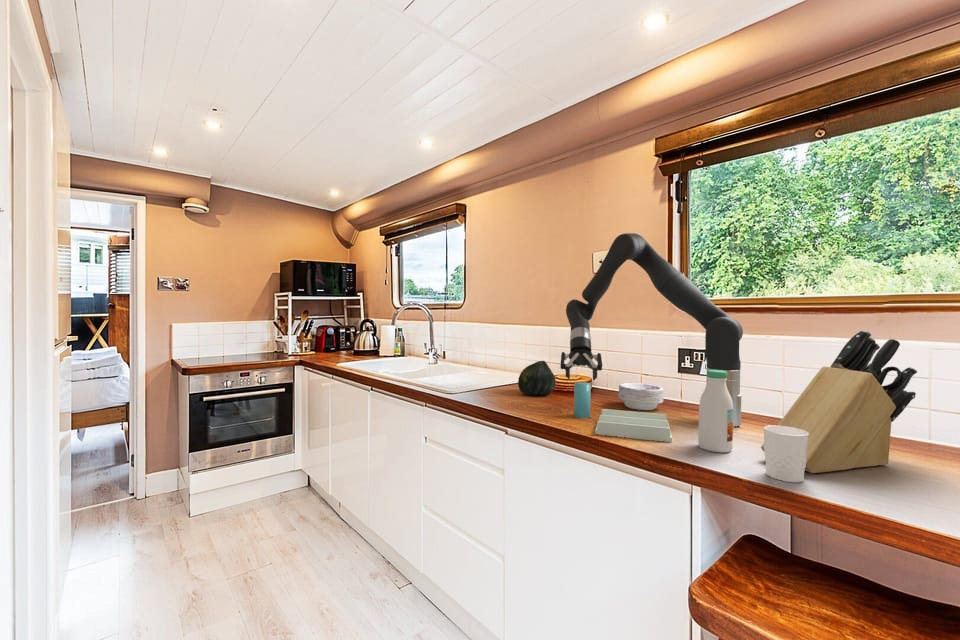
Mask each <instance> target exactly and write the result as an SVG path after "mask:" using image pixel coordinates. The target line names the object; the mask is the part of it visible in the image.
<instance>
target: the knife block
mask: <svg viewBox="0 0 960 640" xmlns="http://www.w3.org/2000/svg"><path fill="white" fill-rule="evenodd" d="M871 336H872V333H871V332H869V331H868V330H865V329H862V330H860V331H859V332H857V333H856V334H855V335H853V336H852V337H851V338H850V339H849V340H848V341H847V342H846V343H845V344H844V346H843V347H842V349H841V350H840V352H839V353H838V355H837V356H836V358H835V359H834V361H833V362H832V363H831V365H830V366H822V367H821V368H820V369H819V371H818V372H817V373H816V374H815V376H814V377H813V378H812V380H811V381H810V382H809V383H808V384H807V386H805V388H804V389H803V391H802V392H801V394H800V395H799V396H798V398H797V399H796V400H795V402H794V403H793V404H792V406H791V407H790V409H789V410H788V411H786V414H785V415H784V416H783V417H782V419H781V420H780V421H779V423H778V424H777V425H776V426H786V427H793V428H797V429H801V430H804V431H806V432H808V433H809V438H808V449H807V461H806V468H805V471H806V472H807V473H810V474H816V473H817V474H819V473H826V472H827V473H828V472H836V471H845V470H850V469H855V468H864V467H865V468H866V467H874V466H878V465H881V466H884V465H889V462H890V461H889V460H890V459H889V457H890V445H891V434H892V433H891V431H892V422H894V421H895V420H896V419H897V418H898V417H899V416H900V415H901V414H902V413H903V411H904V410H905V409H906V408H907V406H908V405H909V404H910V403H911V401H913V400H914V399H916V392H914V391H907V390H905V389H906V387H907V386H908V385H909V383H910V380H912V378H913V376H915V374H917V373H918V370H917V369H915V368H913V367H911V366H909V367H907V368H905V369H903V370H902V371H901V369H899V368H898V367H896V366H887V364H888V363H889V361H891V359H892V358H893V357H894V356H895V354H896V353H897V351H898V349H899V347H900V345H901V343H900V341H898V340H896V339H893V338H890V339H888V340H887V341H885V343H884V344H883V345H882V346H880V345H879V344H878V343H877V342H876V340H875V339H873V338H872V337H871ZM880 347H881V348H880ZM876 351H877V353H876ZM874 354H875V355H874ZM872 358H873V359H872ZM871 360H872V361H871ZM870 362H871V363H870ZM885 366H887V367H885ZM884 367H885V368H884ZM883 368H884V369H883ZM892 371H894V372H896V374H897V376H895V378H894V379H893V380H892V382H891V383H888V384H886V385H883V383H884V381H885V379H886V378H887V375H888V374H889V373H890V372H892ZM760 448H761V450H762V451H763V453H764V454H765V450H764V443H763V444H762V445H761V447H760ZM805 471H804V472H805Z"/></svg>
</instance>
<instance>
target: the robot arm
mask: <svg viewBox="0 0 960 640" xmlns="http://www.w3.org/2000/svg"><path fill="white" fill-rule="evenodd" d="M628 260H629V261H632V262H634V263H636V264H637V265H638V266H639V267H640V268H641V269H642V270H644V271H645V272H646V274H647V276H648V277H649V279H650V281H651V283H652V284H653V286H654V288H655V289H656V290H657V292H658V293H660V295H662V296H663V298H664V299H666V300H667V301H668V302H669V303H671V304H672V305H673V306H675V307H676V308H678V309H679V310H681V311H682V312H684V313H686V314H687V315H689V316H690V317H692V318H693V319H695V320H696V321H697V322H698V323H699V324H700V325H701V326H702V327H703V328H704V329H705V337H704V339H705V340H704V341H705V349H704V350H705V361H706V371H707V370H722V371H726V372H727V380H726V386H727V389H728V392H729V394H730V396H731V399H732V402H733V428H734V427H735V426H736V427H737V426H739V427H740V426H742V425H741V424H742V423H741V422H742V395H741V360H740V359H741V358H740V341H741V340H742V338H743V334H744V332H743V331H744V330H743V327H742V325H741V322H739V321H738V320H737V319H735V318H734V317H733V316H731V315H729V314H728V313H727V312H725V311H724V310H723V309H721V308H720V307H718V306H717V305H715V303H713V302H712V301H711V300H710V299H709V298H708V297H707V296H706V295H705V293H703V292H702V291H701V290H700V289H699V287H697V286H696V285H695V284H694V283H693V282H692V281H691V280H690V279H689V278H688V277H687V276H685V275H684V274H683V273H682V272H681V271H679V270H678V269H677V268H676V267H675V266H673V265H672V264H671V263H670V262H668V261H667V260H666V259H665V258H663V256H661V255H660V254H659V253H658V252H657V251H656V250H655V249H654V248H653V247H652V246H651V245H650V244H649V242H648V241H647V240H646V239H645V238H644V237H643V235H640V234H638V233H634V232H633V233H631V232H630V233H628V232H626V233H622V234H619V235H617V236H616V237H615V239H613V242H612V243H611V246H610V247H609V250H608V252H607V254H606V255H605V257H604V259H603V261H602V263H601V264H600V266H599V268H598V269H597V271H596V272H595V274H594V275H593V277H592V278H591V279H590V281H589V282H588V284H587V285H586V286H585V288H584V289H583V291H582V293H581V296H582V299H583V300H584V301H586V303H585V302H583V301H581V300H579V299H575V298H574V299H571V300H569V301H568V302H567V305H566V308H565V315H566V317H567V320H568V323H569V326H570V337H569V353H566V352H564V351H561V355H560V356H561V357H560V369H561V370H565V377H566V378H567V379H568V380H571V378H570V377H571V369H572V368H574V367H575V366H577V367H580V366H581V367H586V366H587V367H588V368H589V369H591V370H592V381H595V380H597V378H598V371H599V372H600V371H602V370H603V362H602V361H603V360H602V354H601V353H600V352H598V353H597V354H593V352H592V337H591V330H590V322H589V321H590V320H591V319H592V318H593V316H594V313H595V311H596V307H597V306H598V303H599V301H600V300H601V299H602V297H603V296H604V295H605V293H607V291H608V289H609V287H610V286H611V283H612V281H613V278H614V276H615V274H616V272H617V271H618V270H619V269H620V267H621V266H622V265H623V264H624V263H625V262H627V261H628ZM567 359H569V361H568V362H567V363H565V361H567ZM593 359H594V360H595V362H596V363H597V364H596V363H595V362H594V360H593ZM707 381H708V379H707V376H706V384H705V385H707ZM740 428H741V427H740Z"/></svg>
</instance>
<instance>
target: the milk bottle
mask: <svg viewBox="0 0 960 640" xmlns="http://www.w3.org/2000/svg"><path fill="white" fill-rule="evenodd" d="M706 377H707V379H708V381H707V385H706V384H705V385H706V386H705V388H704V390H703V392H702V394H701V396H700V399H699V407H698V408H699V409H698V441H697V442H698V446H699V448H701V449H702V450H704V451H708V452H713V453H723V454H724V453H730V452H732V450H733V442H734V441H733V438H734V437H733V436H734V435H733V434H734V427H733V402H732V399H731V396H730V394H729V392H728V389H727V386H726V380H727V372H726V371H722V370H707V369H706Z"/></svg>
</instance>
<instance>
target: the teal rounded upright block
mask: <svg viewBox="0 0 960 640" xmlns="http://www.w3.org/2000/svg"><path fill="white" fill-rule="evenodd" d="M573 386H574V389H573V417H574V418H575V417H577V418H576V419H579V418H588V419H590V418H591V399H592V398H591V394H592V393H591V391H592V390H591V388H592V387H591V386H592V385H591V382H584V381H582V382H581V381H579V382H577V381H575V382H574V385H573Z"/></svg>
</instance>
